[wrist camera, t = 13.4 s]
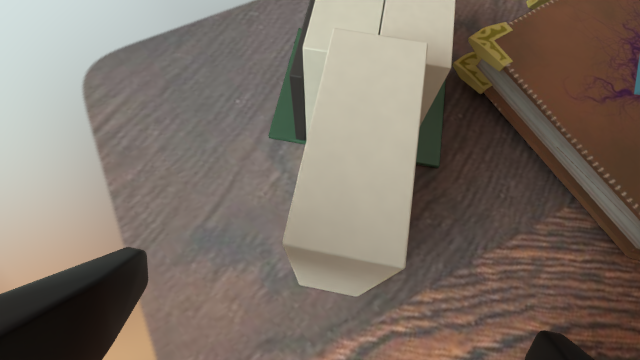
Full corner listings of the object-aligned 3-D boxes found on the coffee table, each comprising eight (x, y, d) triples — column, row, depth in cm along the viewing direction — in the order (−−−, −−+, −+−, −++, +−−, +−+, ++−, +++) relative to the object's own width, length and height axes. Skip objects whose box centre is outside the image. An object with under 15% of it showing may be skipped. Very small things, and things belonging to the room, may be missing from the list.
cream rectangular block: (357, 297, 18) (405, 269, 8) (298, 285, 18) (281, 244, 8) (376, 170, 20) (428, 41, 11) (324, 161, 20) (333, 26, 11)
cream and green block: (437, 168, 20) (509, 79, 13) (268, 138, 21) (243, 36, 13) (446, 54, 23) (507, -70, 16) (298, 31, 24) (291, -100, 17)
